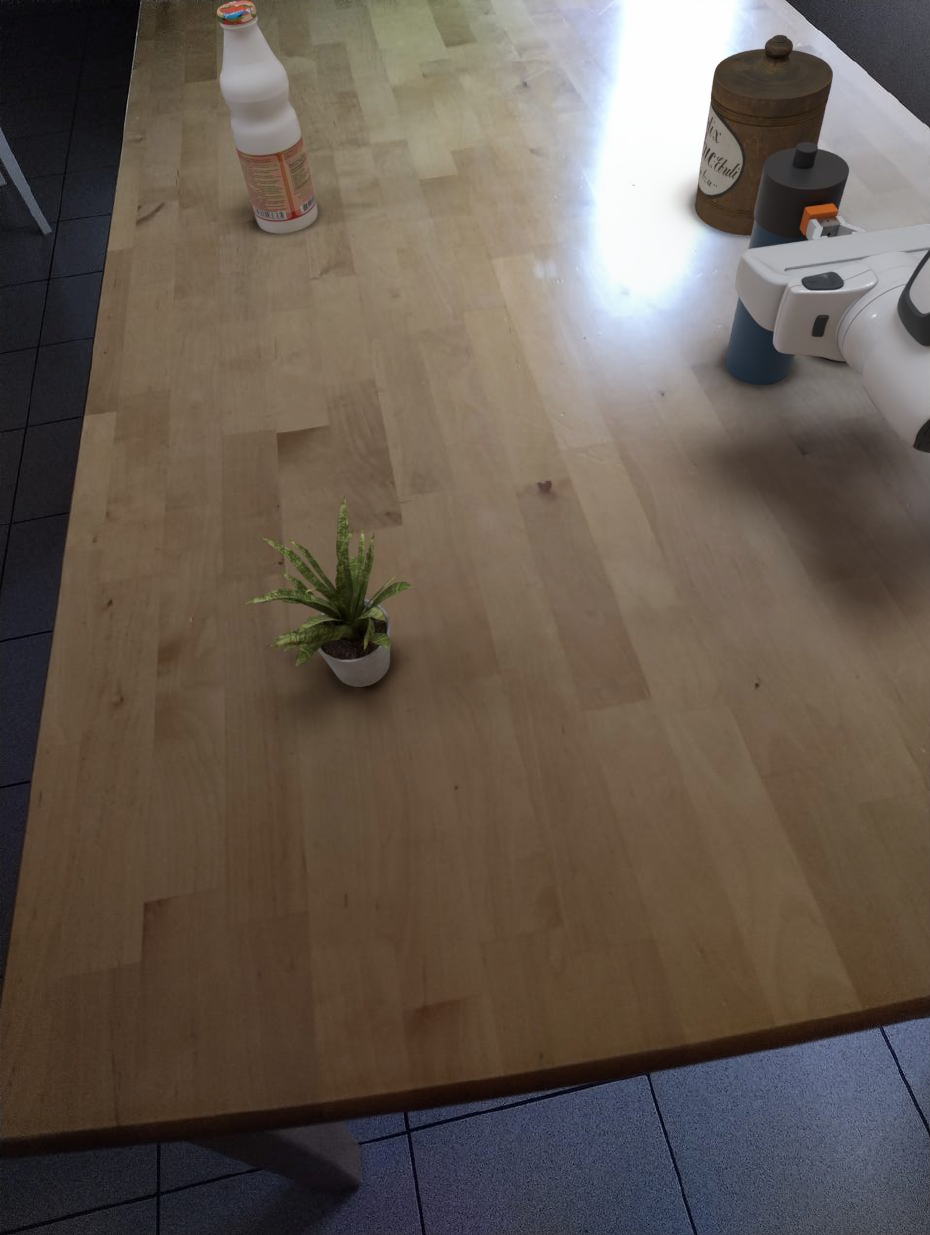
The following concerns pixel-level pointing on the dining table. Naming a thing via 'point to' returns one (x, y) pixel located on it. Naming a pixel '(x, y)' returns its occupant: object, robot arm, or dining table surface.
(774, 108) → the wooden container
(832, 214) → the orange block
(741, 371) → the bottle
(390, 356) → the dining table surface
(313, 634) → the house plant
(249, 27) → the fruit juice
